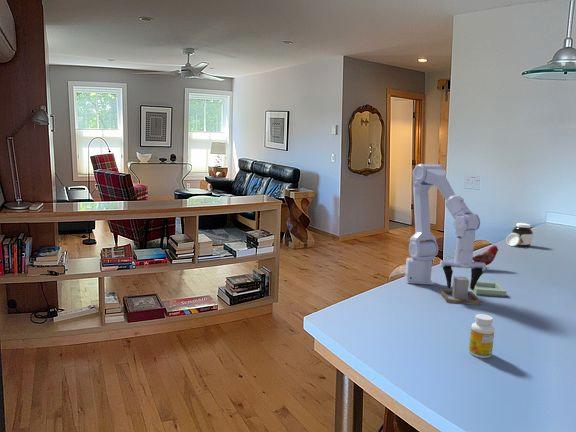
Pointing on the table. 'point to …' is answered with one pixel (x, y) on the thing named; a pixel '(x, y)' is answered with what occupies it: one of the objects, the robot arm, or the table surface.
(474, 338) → the supplement bottle
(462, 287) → the stone block
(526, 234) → the spread jar
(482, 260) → the decorative bird figurine
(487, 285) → the sage tray
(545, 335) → the table surface
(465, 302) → the walnut frame
